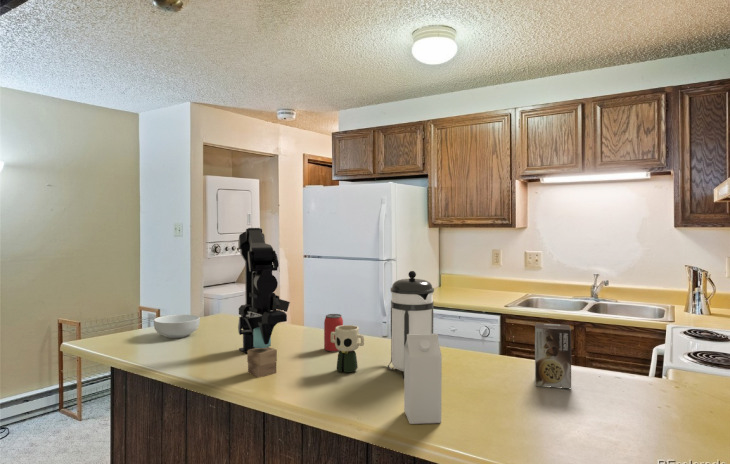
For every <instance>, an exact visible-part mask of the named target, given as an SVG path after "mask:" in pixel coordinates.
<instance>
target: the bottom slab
mask: <svg viewBox="0 0 730 464" xmlns="http://www.w3.org/2000/svg"><path fill="white" fill-rule="evenodd" d="M248 372H249V373H248ZM247 373H248V374H250V373H251V374H250V375H252V374H253V375H252V376H254V377H257V378H261V377H265V376H270V375H274V374H277V361H276V362H273V363H269V364H266V365H262V366H258V365H255V364H252V363H249V362H247Z"/></svg>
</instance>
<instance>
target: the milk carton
mask: <svg viewBox="0 0 730 464" xmlns="http://www.w3.org/2000/svg"><path fill="white" fill-rule="evenodd" d="M440 346H441V345H440V342H439V334H438V333H433V334H407V341H406V344H405V347H404V371H403V374H404V379H403V380H404V381H403V382H404V383H403V385H404V386H403V387H404V388H403V390H404V392H403V393H404V395H403V401H404V403H403V404H404V405H403V411H404V413H405V415H406V418H407V420H408V423H409V424H410V425H413V424H414V425H418V424H441V423H442V374H443V373H442V371H443V369H442V368H443V367H442V364H443V363H442V358H443V355H442V350H441V347H440Z"/></svg>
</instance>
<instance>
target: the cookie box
mask: <svg viewBox="0 0 730 464" xmlns="http://www.w3.org/2000/svg"><path fill="white" fill-rule="evenodd" d="M534 384H535V385H537V386H536V387H540V386H551V387H562V388H571V389H572V329H571V327H570V324H564V323H563V324H562V323H561V324H559V323H542V322H541V323H540V322H536V323H535V324H534Z"/></svg>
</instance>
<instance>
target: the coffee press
mask: <svg viewBox="0 0 730 464" xmlns="http://www.w3.org/2000/svg"><path fill="white" fill-rule="evenodd" d="M407 274H408V277H409V278H402V279H398V280H396V281H394V282H393V284H392V286H391V287H390V293H391V300H390V337H391V340H390V342H391V344H390V345H391V347H390V348H391V349H390V350H391V351H390V352H391V354H390V356H391V357H390V359H391V360H390V362H389V364H388V365H387V369H388V370H390V371H391V370H393V369H394V368H395V369H396V370H398V371H401V372H404V347H405V344H406V341H407V334H434V300H433V299H434V298H433V295H434V293H435V288H433V285H432V283H431V282H430V281H428V280H425V279H422V278H421V279H420V278H416V276H417V274H416V272H415V270H414V271H413V270H410V271H409V272H408V273H407ZM391 364H392V366H393V367H390V365H391ZM402 379H403V380H404V373H403V374H402Z"/></svg>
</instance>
